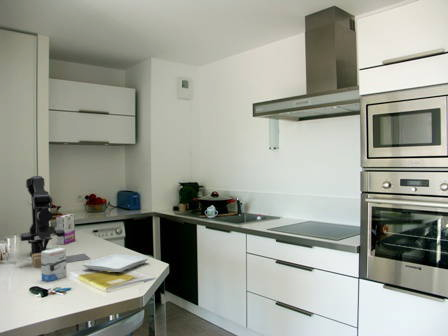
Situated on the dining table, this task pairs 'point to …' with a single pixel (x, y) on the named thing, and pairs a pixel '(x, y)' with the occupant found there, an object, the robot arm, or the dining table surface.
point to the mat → (76, 258)
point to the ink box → (53, 264)
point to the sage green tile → (51, 247)
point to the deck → (36, 260)
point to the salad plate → (115, 263)
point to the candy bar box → (66, 229)
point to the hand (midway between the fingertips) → (43, 252)
